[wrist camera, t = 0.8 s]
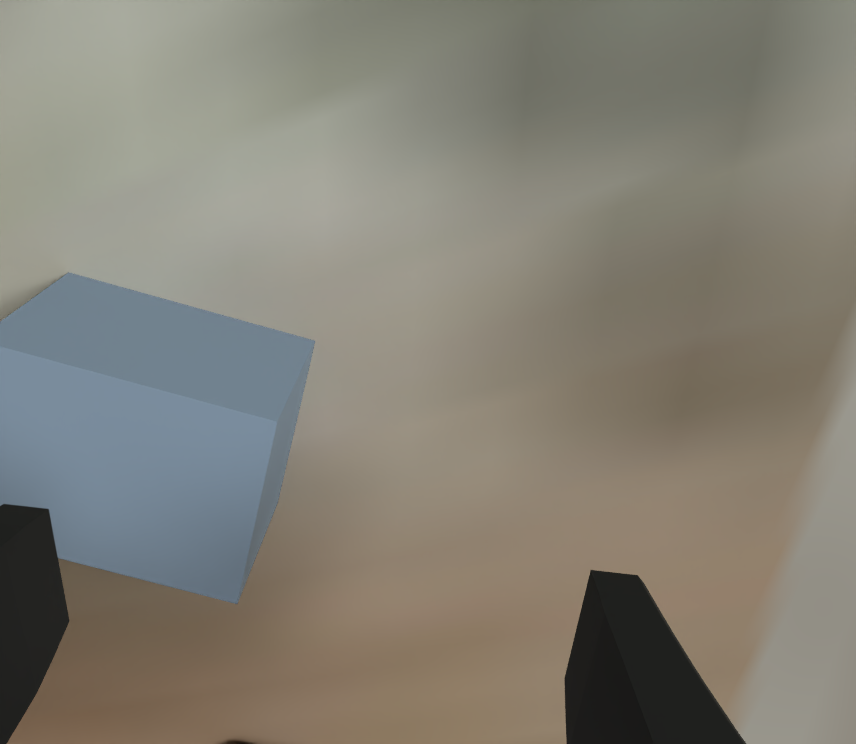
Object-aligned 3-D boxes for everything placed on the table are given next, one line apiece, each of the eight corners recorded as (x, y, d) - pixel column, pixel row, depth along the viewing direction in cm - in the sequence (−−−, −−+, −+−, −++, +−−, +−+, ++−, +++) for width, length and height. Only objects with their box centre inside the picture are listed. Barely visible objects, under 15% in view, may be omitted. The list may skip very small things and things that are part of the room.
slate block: (278, 499, 22) (237, 603, 18) (59, 441, 21) (-28, 535, 18) (316, 338, 19) (277, 422, 16) (71, 270, 19) (-25, 339, 15)
